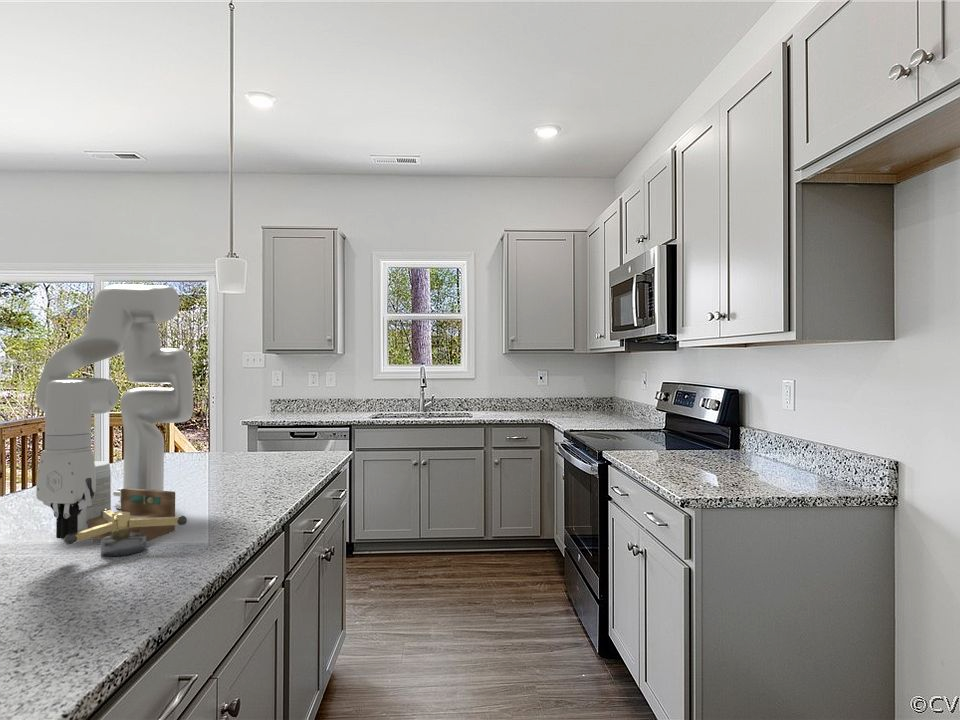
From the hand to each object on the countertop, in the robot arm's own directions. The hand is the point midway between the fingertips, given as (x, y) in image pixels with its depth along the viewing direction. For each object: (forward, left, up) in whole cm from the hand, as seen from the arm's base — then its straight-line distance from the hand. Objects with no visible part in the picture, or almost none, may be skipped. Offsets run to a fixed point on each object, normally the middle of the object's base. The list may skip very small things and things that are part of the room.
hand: (66, 536), depth 118 cm
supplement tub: (-17, +20, -5) cm, 26 cm away
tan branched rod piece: (+5, +5, -4) cm, 8 cm away
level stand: (-2, +18, -4) cm, 18 cm away
